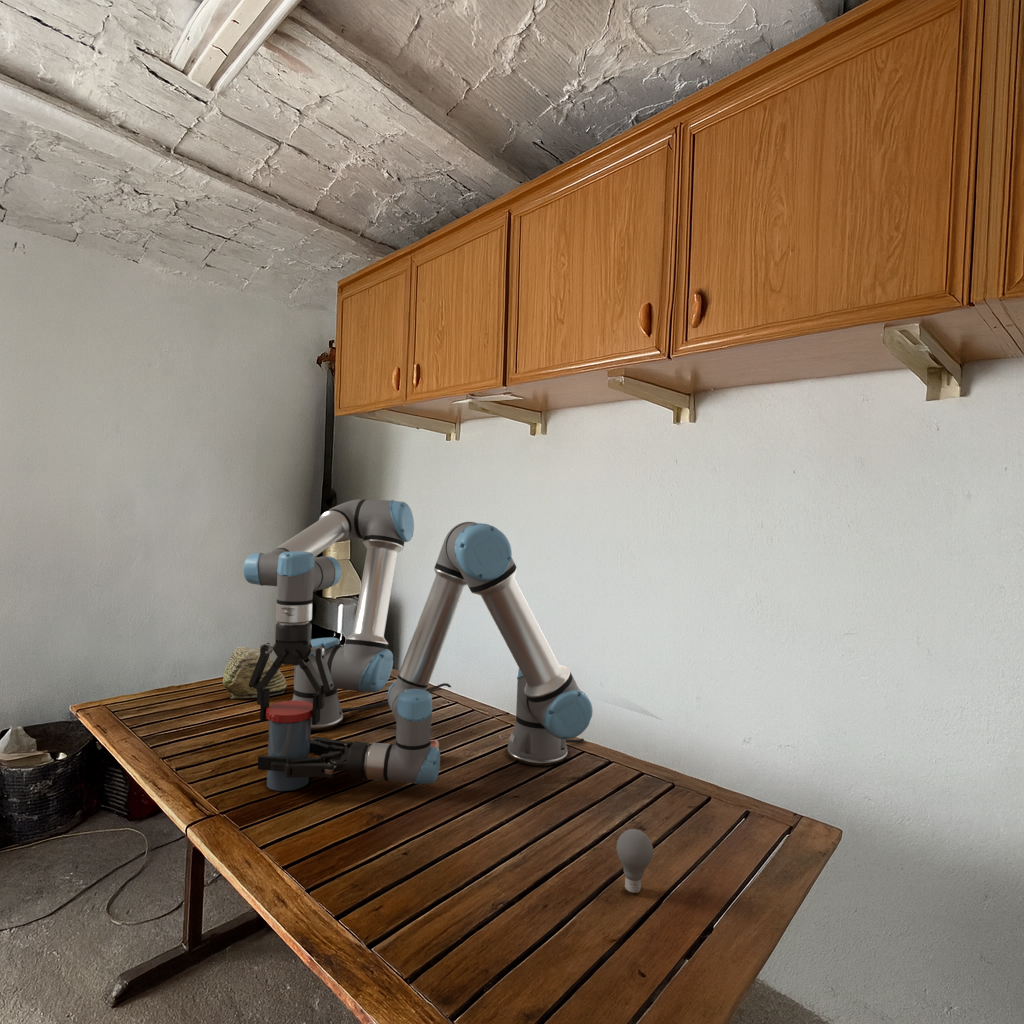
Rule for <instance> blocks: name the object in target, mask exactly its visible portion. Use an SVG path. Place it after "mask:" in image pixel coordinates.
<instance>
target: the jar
mask: <svg viewBox="0 0 1024 1024" xmlns="http://www.w3.org/2000/svg"><path fill="white" fill-rule="evenodd" d="M267 733H268V734H267V735H268V736H267V737H268V738H267V756H273V757H290V760H294V759H303V758H311V754H310V740H312V739H311V738H312V737H311V736H312V735H311V734H312V732H311V718H309V719H307V720H304V721H300V722H293V723H278V722H273V721H270V720H268V732H267ZM309 782H310V777H292V778H287V777H286V772H285V771H271V770H266V787H267V788H268V789H269V790H273V791H277V792H289V791H295V790H298V789H301V788H303V787H305V786H306V785H308V784H309Z"/></svg>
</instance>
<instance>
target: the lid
mask: <svg viewBox="0 0 1024 1024" xmlns="http://www.w3.org/2000/svg"><path fill="white" fill-rule="evenodd" d="M312 712H313V704H312V703H310V702H307V701H298V700H293V701H292V700H283V701H278V702H275V703H272V704H271V705H270V704H269V706H268V707H267V709H266V718H267V719H266V720H268V721H269V720H270V721H273V722H278V723H293V722H300V721H304V720H307V719H309V718H311V717H312Z"/></svg>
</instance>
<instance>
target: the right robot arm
mask: <svg viewBox="0 0 1024 1024" xmlns="http://www.w3.org/2000/svg"><path fill="white" fill-rule="evenodd" d="M512 556H513V553H512V546H511V543H510V541H509V539H508V537H507V536H506V535H505V534H504V532H503V531H502V530H500V529H498V528H497V527H495V526H494V525H491V524H488V523H478V522H474V521H465V522H460V523H458V524H456V525H455V526H453V527H452V528H451V529H450V530H449V531H448V533H447V534H446V536H445V538H444V540H443V543H442V546H441V548H440V552H439V553H438V557H437V560H436V563H435V565H434V568H433V570H434V573H435V578H434V580H433V582H432V585H431V587H430V590H429V593H428V596H427V598H426V601H425V603H424V606H423V608H422V611H421V614H420V616H419V619H418V622H417V625H416V627H415V630H414V633H413V635H412V638H411V639H410V643H409V645H408V647H407V651H406V654H405V656H404V659H403V661H402V664H401V667H400V669H399V671H398V674H397V677H396V679H395V681H394V682H393V683H392V684H391V685H390V686H389V688H388V690H387V701H388V704H387V705H388V706H389V708H390V710H391V712H392V715H393V718H394V720H395V725H396V727H395V744H393V743H385V742H384V743H383V742H372V743H370V742H365V741H342V740H337V739H331V738H325V737H319V736H314V737H313V739H310V755H311V754H313V755H316V756H313V757H310V758H303V759H294V760H290V757H273V756H268V755H258V756H257V770H261V771H267V770H271V771H285V772H286V777H287V778H292V777H309V778H327V779H332V778H334V777H335V773H337V772H345V773H346V775H347V777H348V778H349V779H353V780H354V779H355V780H365V779H367V780H370V781H378V782H379V783H382V782H394V783H395V782H396V783H408V784H414V785H430V784H431V785H432V784H434V783H435V782H436V781H437V779H438V777H439V774H440V769H441V750H440V749H438V748H436V747H433V746H431V742H430V740H431V734H432V718H433V711H434V709H433V698H432V696H433V695H432V694H431V692H430V691H426V689H428V687H429V684H430V681H431V678H432V676H433V673H434V670H435V667H436V665H437V663H438V660H439V657H440V655H441V652H442V649H443V647H444V644H445V642H446V638H447V636H448V633H449V631H450V628H451V625H452V623H453V620H454V618H455V615H456V612H457V610H458V607H459V604H460V602H461V599H462V598H463V597H462V596H463V594H464V591H465V589H466V587H468V589H469V591H470V593H472V594H475V595H477V596H480V597H481V599H482V601H483V603H484V605H485V606H486V608H487V610H488V612H489V615H490V616H491V618H492V619H493V620H492V621H493V622H494V623H495V625H496V627H497V629H498V631H499V633H500V635H501V637H502V638H503V639H502V640H503V641H504V642H505V644H506V647H507V648H508V650H509V652H510V653H511V656H512V657H513V659H514V661H515V663H516V665H517V667H518V671H517V677H516V679H517V683H516V684H517V685H516V686H517V687H516V708H515V709H516V711H515V724H514V726H513V729H512V732H511V733H510V736H509V739H508V743H507V751H506V753H507V755H508V757H509V758H510V759H512V760H513V761H515V762H516V763H517V762H518V763H520V764H522V765H523V764H524V765H526V766H535V767H549V766H555V765H559V764H561V763H563V762H565V761H566V760H567V758H568V745H567V744H568V743H574V744H575V743H576V744H579V743H583V742H584V741H585V739H584V738H578V739H577V737H578V736H580V735H581V734H583V732H585V730H587V728H588V727H589V726H590V723H591V719H592V717H593V712H594V711H593V704H592V701H591V700H590V698H589V696H588V695H587V694H586V693H585V692H584V691H582V690H581V689H580V688H579V685H578V683H577V682H576V680H575V678H574V676H573V674H572V672H571V670H570V668H569V667H568V666H565V665H562V664H560V663H559V661H558V660H557V657H556V656H555V654H554V651H553V650H552V647H551V645H550V644H549V641H548V639H547V638H546V636H545V634H544V632H543V631H542V628H541V627H540V625H539V622H538V620H537V619H536V617H535V615H534V612H533V611H532V609H531V607H530V605H529V603H528V601H527V599H526V597H525V595H524V593H523V591H522V589H521V588H520V585H519V584H518V582H517V579H516V578H515V577H516V574H517V571H518V567H517V564H516V563H515V561H514V559H513V557H512ZM575 738H576V739H575Z"/></svg>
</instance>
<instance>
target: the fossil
mask: <svg viewBox="0 0 1024 1024" xmlns="http://www.w3.org/2000/svg"><path fill="white" fill-rule="evenodd" d="M259 657H260V647H258V648H251V647H247V646H246V647H245V646H238V647H237V648H236V649H235V650H233V651H232V653H231V656H230V657H229V659H228V660H227V663H226V666H225V668H224V671H223V675H222V676H223V677H222V685H223V687H224V688H225V690H226V691H228V693H229V698H230V699H250V698H257V690H256V689H255V688H253V687H252V688H251V687H249V682H250V679H251V677H252V674H253V672H254V669H255V667H256V664H257V662H258V659H259ZM274 661H275V660H273V659H272V658H271V657H269V658H268V661H267V663H266V666H265V668H264V671H263V674H262V676H261V679H260V682H261V680H262V679H263V677H264V676H265V675H266V673H267V672H268V670H269V669H270V668H271V666H272V665H273V662H274ZM287 687H288V686H287V680H286V678H285V676H284V674H283V673H282V672H281V669H279V670H278V671H277V672H276V674H275V675H274V677H273V678H272V679H271V681H270V682H269V684H268V685H267V687H266V688H270V697H271V696H275V695H281V694H284V693H285V691H286V689H287Z"/></svg>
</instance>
